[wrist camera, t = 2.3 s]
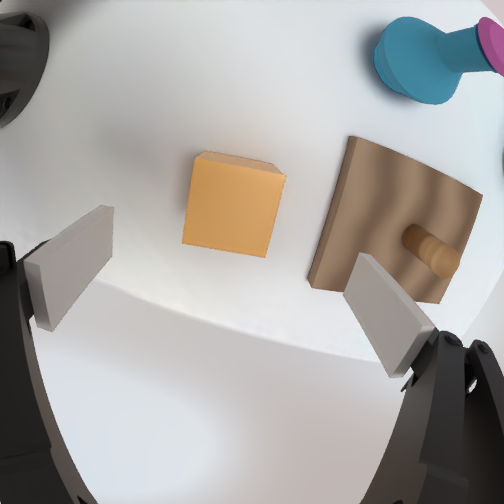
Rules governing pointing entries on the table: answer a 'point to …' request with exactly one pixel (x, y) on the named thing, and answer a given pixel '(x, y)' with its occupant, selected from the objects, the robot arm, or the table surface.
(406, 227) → the post board
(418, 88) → the perfume bottle
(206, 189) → the wooden toy cube
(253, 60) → the table surface
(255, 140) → the table surface
